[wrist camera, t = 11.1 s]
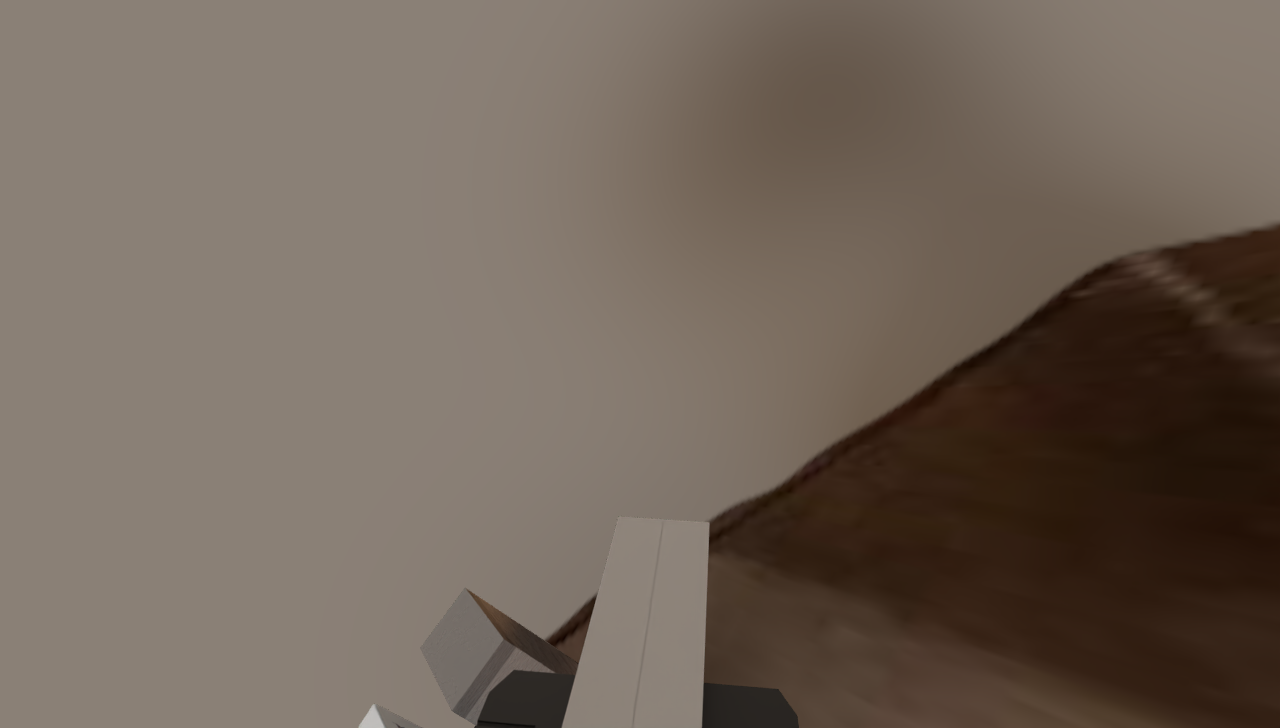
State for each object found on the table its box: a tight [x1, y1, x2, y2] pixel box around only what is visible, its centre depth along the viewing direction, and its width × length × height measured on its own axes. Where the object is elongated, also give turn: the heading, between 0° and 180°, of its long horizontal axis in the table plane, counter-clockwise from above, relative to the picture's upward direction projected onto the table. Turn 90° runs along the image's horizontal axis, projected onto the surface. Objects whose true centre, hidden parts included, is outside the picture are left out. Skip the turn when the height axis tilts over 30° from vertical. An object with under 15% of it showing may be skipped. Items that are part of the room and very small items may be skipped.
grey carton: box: [421, 588, 579, 726], centre depth 48 cm, size 4×8×15 cm, turn 35°
